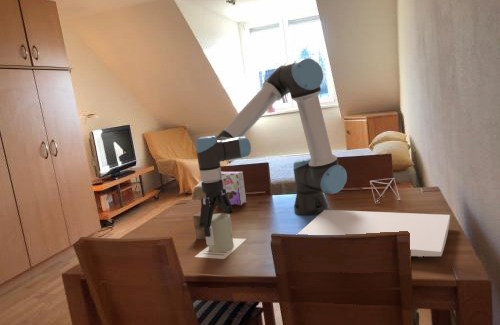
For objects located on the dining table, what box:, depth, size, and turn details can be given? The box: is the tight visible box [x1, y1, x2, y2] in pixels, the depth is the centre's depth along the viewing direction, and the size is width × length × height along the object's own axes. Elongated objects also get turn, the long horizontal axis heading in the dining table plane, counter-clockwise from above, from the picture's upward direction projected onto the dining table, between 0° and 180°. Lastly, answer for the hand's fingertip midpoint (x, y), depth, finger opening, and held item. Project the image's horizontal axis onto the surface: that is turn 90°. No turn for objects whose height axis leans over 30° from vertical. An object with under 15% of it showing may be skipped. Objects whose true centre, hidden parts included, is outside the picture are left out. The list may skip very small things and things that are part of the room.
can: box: [208, 212, 234, 252], centre depth 140 cm, size 9×9×12 cm
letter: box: [194, 237, 247, 260], centre depth 141 cm, size 12×18×1 cm, turn 156°
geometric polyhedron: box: [369, 177, 401, 204], centre depth 173 cm, size 12×11×9 cm
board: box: [297, 209, 451, 258], centre depth 132 cm, size 45×32×5 cm
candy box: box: [221, 171, 247, 206], centre depth 201 cm, size 14×6×16 cm, turn 58°
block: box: [192, 210, 215, 240], centre depth 154 cm, size 6×6×10 cm
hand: (220, 237), depth 141 cm, fingers open, 13 cm apart
